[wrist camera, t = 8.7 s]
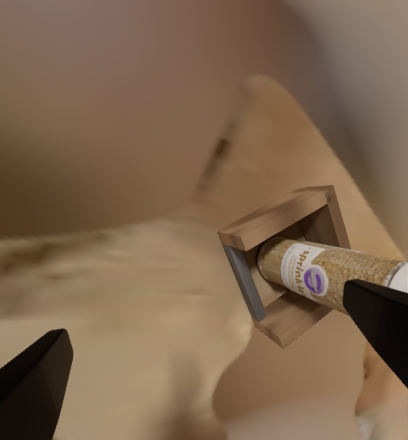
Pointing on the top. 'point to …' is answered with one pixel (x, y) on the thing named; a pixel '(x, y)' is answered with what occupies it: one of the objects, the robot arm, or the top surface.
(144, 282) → the top surface
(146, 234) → the top surface
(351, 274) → the sprinkles bottle
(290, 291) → the cradle
